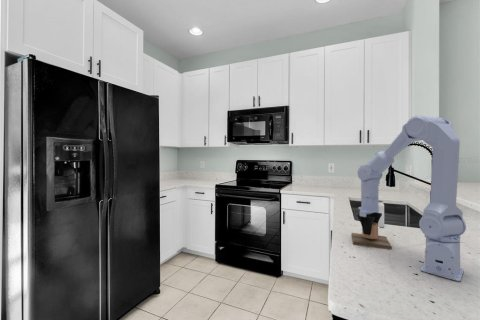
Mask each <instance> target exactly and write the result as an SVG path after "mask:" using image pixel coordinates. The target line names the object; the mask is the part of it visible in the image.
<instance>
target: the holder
mask: <svg viewBox="0 0 480 320" xmlns="http://www.w3.org/2000/svg"><path fill="white" fill-rule="evenodd" d="M351 239H352V244H353V246H354V245H355V246H360V247H370V248H378V249H384V250H385V249H386V250H393V246H392V244H391V243H390V242H389V240H388V238H387V236H384V235H378V239H369V238H365V237H363V236H362V233H359V232H358V233H356V232H351Z"/></svg>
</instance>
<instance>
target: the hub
mask: <svg viewBox="0 0 480 320" xmlns="http://www.w3.org/2000/svg"><path fill="white" fill-rule="evenodd" d="M361 231H362V232H361V234H362V236H363V237H365V238H369V239H378V236H379V228H378V224H377V223H373V224H372V230H371V234H370V235H366V234H364V233H363V229H362V228H361Z"/></svg>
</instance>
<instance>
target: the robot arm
mask: <svg viewBox="0 0 480 320" xmlns="http://www.w3.org/2000/svg"><path fill="white" fill-rule="evenodd" d="M420 141H423V142H425V144H427V145H428V146H429V147H431V148H432V159H431V176H430V177H431V179H430V194H429V203H428V204H427V205H426V206H425V208H424V209H423V214H422V216H421V218H420V219H419V222H418V225H419V229H420V231H421V232H422V233H423V234H424V238H425V249H424V263H423V265H422V267H421V268H420V271H421V272H424V273H428V274H431V275H435V276H439V277H442V278H446V279H449V280H452V281H455V282H461V281H462V278H463V277H462V276H463V273H464V268H462V267H461V235H464V233H465V232H466V231H467V224H466V222H465V220H464V216H463V211H462V210H461V209H460V208H459V207H458V206H457V192H458V178H459V177H458V175H459V163H460V162H459V161H460V145H461V144H460V143H461V142H460V138H459V137H458V135H457V134H456V132H455V130H454V129H453V122H452V121H450V120H447V119H446V118H444V117H437V116H436V117H434V116H425V115H424V116H423V115H415V116H412V117H411V118H409V119H408V121H407V122H406V123H404V125H402V129H401V131H400V133H399V134H398V135H397V136H396V137H395V138H394V140H393V141H392V142H391V143H390V145H389V146H388V147H387V148H386V149H385V150H381V151H379V152H376V153H375V156H374V157H372V159H370V161H368V162H367V164H365V165H360V166H359V168H358V170H357V177H358V178H359V180H360V184H361V185H360V191H361V194H360V196H361V197H360V198H361V201H360V203H361V205H360V206H359V207H357V209H358V210H359V213H358V214H357V218H358V220H359V222H360V225H361V230H362V229H363V233H364V234H366V235H370V234H371V230H372V224H373V223H377V224H378V222H379V219H380V217H381V216H382V213H377V212H379V206H378V201H379V200H380V199H379V186H380V183H381V179H382V178H383V173H384V172H385V171H386V170H387V169H388V168H390V166H392V164H393V163H394V162H395V157H396V156H397V155H398V154H400V153H401V152H402V151H403V150H405V149H406V148H407V147H408V146H409V145H410V144H412V143H413V142H420Z"/></svg>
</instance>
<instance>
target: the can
mask: <svg viewBox="0 0 480 320" xmlns="http://www.w3.org/2000/svg"><path fill="white" fill-rule="evenodd" d="M378 200H379V201H378V206H379V212H377V213H382V216H381V217H380V219H379V222H378V227H383V228H384V227H385V204H384V200H380V199H378Z"/></svg>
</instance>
